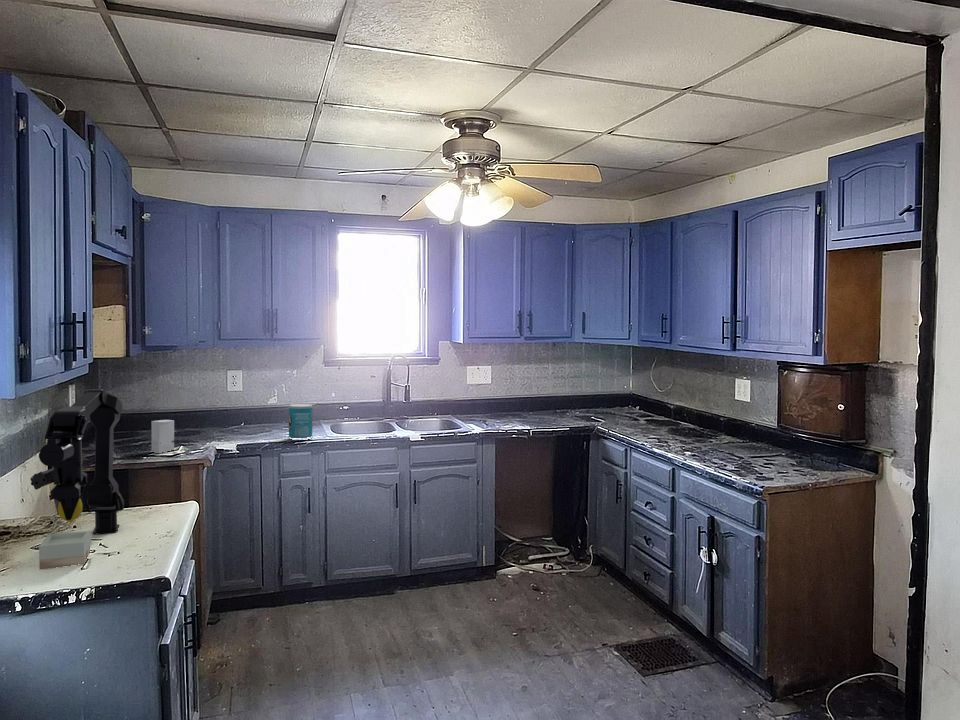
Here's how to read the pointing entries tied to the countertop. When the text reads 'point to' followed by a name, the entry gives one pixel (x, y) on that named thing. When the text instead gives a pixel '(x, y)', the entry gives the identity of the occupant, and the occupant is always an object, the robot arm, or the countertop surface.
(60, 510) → the lemon
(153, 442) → the skincare box
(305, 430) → the food can
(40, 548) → the dish block
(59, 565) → the base block
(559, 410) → the countertop surface
